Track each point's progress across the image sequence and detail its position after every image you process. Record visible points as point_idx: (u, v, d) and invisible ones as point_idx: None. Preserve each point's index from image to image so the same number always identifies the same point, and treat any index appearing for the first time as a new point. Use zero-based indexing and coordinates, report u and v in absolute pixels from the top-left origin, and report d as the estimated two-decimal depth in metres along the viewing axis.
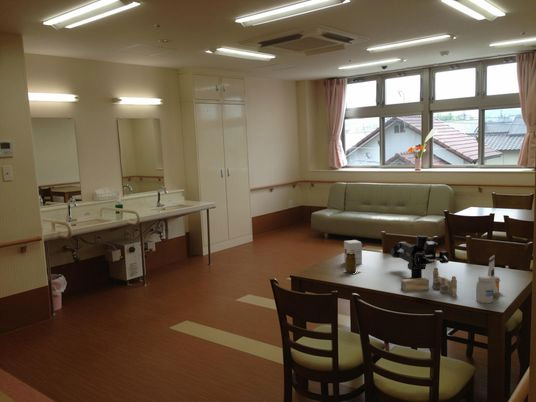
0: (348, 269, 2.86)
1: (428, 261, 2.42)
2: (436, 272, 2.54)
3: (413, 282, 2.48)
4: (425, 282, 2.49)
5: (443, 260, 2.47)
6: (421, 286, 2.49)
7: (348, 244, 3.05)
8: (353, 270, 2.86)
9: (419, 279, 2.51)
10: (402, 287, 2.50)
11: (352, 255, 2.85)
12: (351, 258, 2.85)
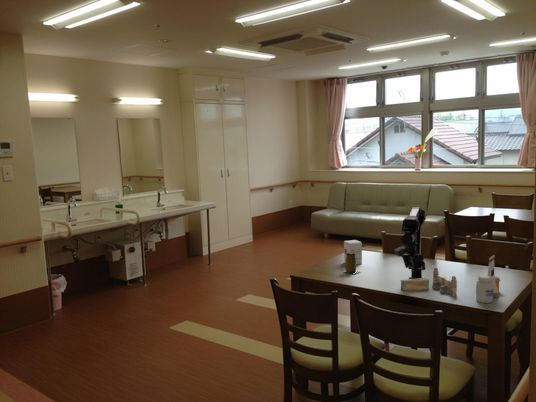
0: (348, 269, 2.86)
1: None
2: (436, 272, 2.54)
3: (413, 282, 2.48)
4: (425, 282, 2.49)
5: None
6: (421, 286, 2.49)
7: (348, 244, 3.05)
8: (353, 270, 2.86)
9: (419, 279, 2.51)
10: (402, 287, 2.50)
11: (352, 255, 2.85)
12: (351, 258, 2.85)
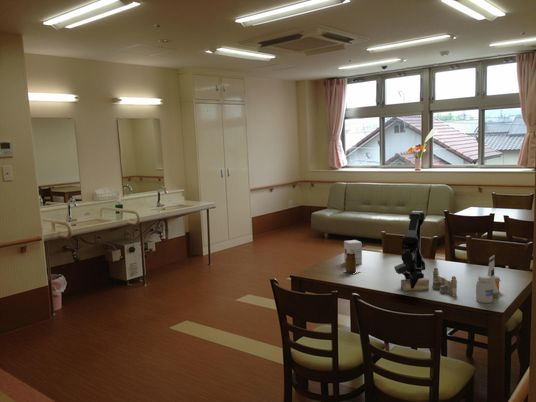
0: (348, 269, 2.86)
1: None
2: (436, 272, 2.54)
3: None
4: (425, 282, 2.49)
5: None
6: (421, 286, 2.49)
7: (348, 244, 3.05)
8: (353, 270, 2.86)
9: (419, 279, 2.51)
10: (402, 287, 2.50)
11: (352, 255, 2.85)
12: (351, 258, 2.85)
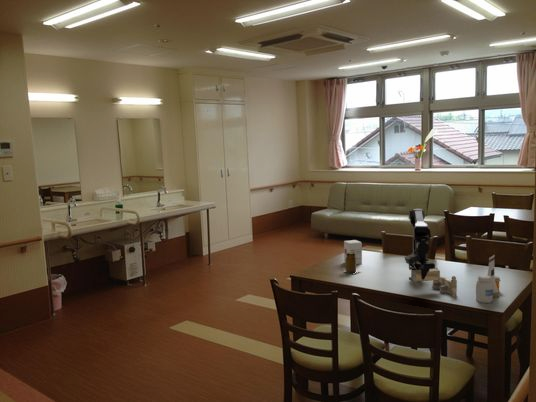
0: (348, 269, 2.86)
1: None
2: None
3: None
4: (436, 273, 2.43)
5: None
6: (432, 277, 2.43)
7: (348, 244, 3.05)
8: (353, 270, 2.86)
9: (430, 270, 2.45)
10: (412, 278, 2.44)
11: (352, 255, 2.85)
12: (351, 258, 2.85)
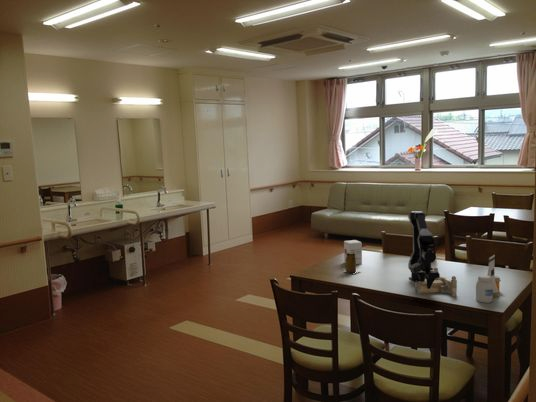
0: (348, 269, 2.86)
1: None
2: None
3: None
4: (440, 285, 2.44)
5: None
6: (436, 288, 2.44)
7: (348, 244, 3.05)
8: (353, 270, 2.86)
9: (434, 281, 2.46)
10: (417, 289, 2.45)
11: (352, 255, 2.85)
12: (351, 258, 2.85)
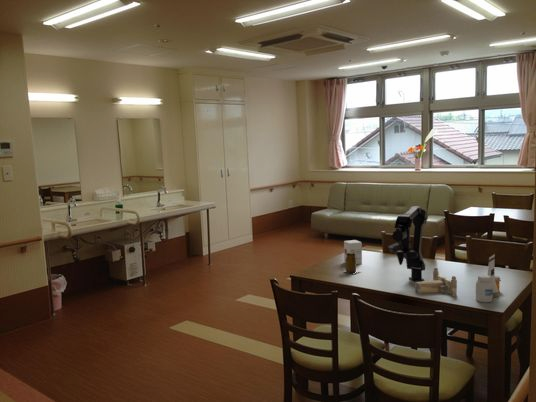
0: (348, 269, 2.86)
1: None
2: (436, 272, 2.54)
3: (428, 284, 2.43)
4: (440, 285, 2.44)
5: None
6: (436, 288, 2.44)
7: (348, 244, 3.05)
8: (353, 270, 2.86)
9: (434, 281, 2.46)
10: (417, 289, 2.45)
11: (352, 255, 2.85)
12: (351, 258, 2.85)
